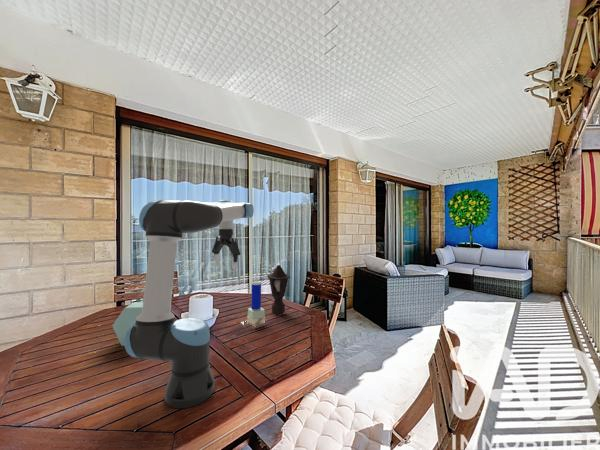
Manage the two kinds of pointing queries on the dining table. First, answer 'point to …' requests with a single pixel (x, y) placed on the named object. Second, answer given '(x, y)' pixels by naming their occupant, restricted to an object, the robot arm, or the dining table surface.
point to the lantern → (278, 289)
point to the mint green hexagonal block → (127, 320)
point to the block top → (256, 313)
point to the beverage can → (256, 295)
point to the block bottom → (255, 321)
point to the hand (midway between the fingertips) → (225, 266)
